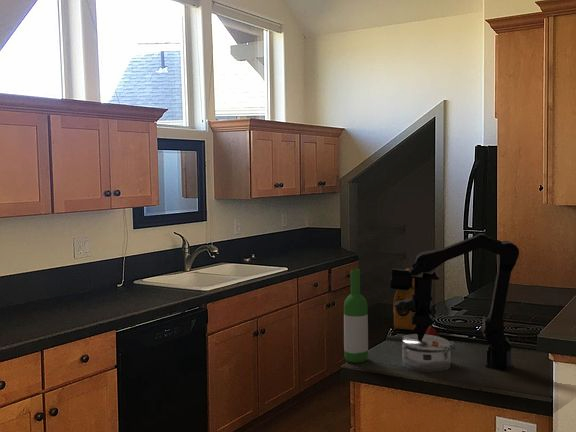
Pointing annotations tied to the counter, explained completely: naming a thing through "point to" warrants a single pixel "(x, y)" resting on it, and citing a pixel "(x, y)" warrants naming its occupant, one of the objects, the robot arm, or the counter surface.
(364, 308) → the wine bottle
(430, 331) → the onion
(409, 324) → the coffee package
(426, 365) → the cooker pot
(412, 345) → the lid
